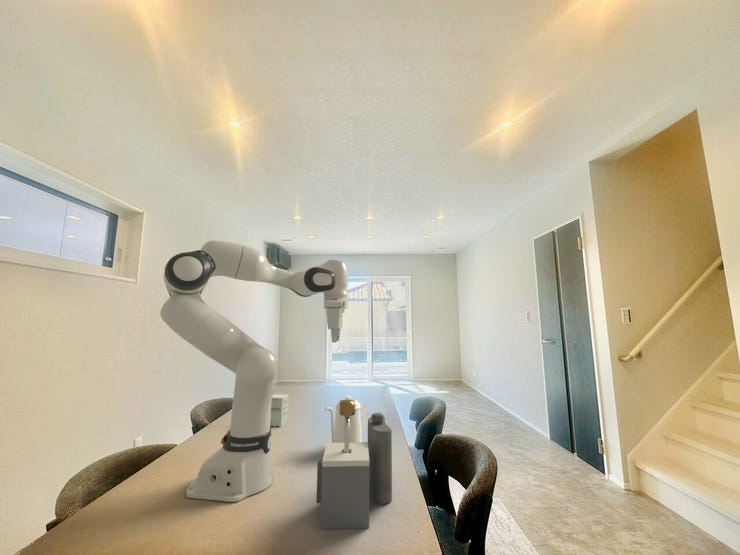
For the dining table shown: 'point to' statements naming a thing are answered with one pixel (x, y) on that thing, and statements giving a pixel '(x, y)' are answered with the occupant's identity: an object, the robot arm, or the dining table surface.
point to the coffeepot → (354, 423)
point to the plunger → (347, 419)
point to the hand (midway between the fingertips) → (335, 341)
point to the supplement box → (279, 410)
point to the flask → (380, 459)
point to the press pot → (344, 486)
